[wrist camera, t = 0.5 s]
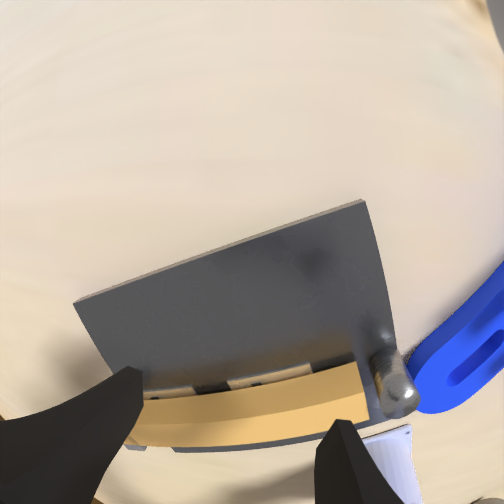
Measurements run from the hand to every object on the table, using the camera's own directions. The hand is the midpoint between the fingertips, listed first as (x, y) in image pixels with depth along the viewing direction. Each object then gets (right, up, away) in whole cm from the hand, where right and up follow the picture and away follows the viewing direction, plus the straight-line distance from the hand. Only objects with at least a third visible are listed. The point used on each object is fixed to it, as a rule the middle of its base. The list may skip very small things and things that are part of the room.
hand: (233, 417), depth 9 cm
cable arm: (-1, -6, +10) cm, 12 cm away
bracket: (+20, 0, +8) cm, 21 cm away
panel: (0, -3, +11) cm, 11 cm away
